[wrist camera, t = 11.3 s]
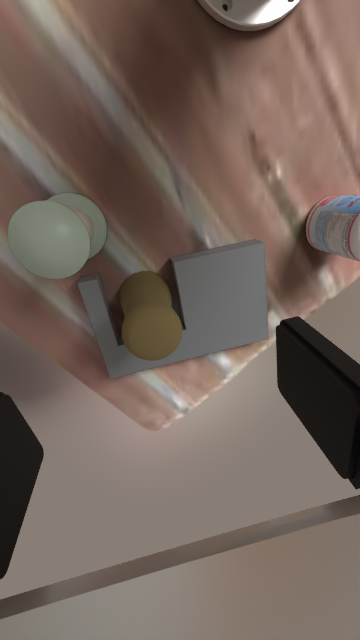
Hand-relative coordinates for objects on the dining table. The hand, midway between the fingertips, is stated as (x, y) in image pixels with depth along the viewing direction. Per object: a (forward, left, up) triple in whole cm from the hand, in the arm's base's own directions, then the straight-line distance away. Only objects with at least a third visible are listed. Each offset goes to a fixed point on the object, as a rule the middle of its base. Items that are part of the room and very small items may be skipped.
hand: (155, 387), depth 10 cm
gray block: (-4, +7, -23) cm, 24 cm away
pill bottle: (-23, +1, -23) cm, 32 cm away
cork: (0, +5, -23) cm, 23 cm away
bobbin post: (+5, -4, -23) cm, 24 cm away
